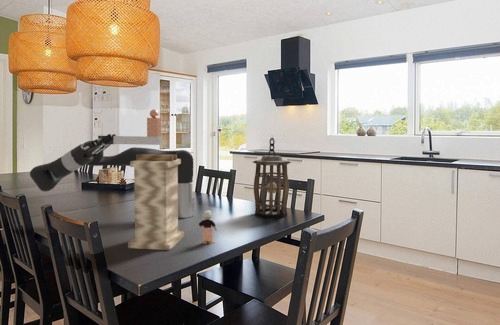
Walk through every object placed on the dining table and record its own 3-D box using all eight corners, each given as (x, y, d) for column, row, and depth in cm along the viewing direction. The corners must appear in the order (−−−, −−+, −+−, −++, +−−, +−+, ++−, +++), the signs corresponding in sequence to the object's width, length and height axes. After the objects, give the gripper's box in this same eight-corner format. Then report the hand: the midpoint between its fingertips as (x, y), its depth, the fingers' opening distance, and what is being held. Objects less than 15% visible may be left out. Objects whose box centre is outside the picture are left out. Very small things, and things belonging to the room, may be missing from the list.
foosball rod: (97, 144, 143) (97, 108, 142) (102, 143, 147) (102, 109, 146) (158, 145, 140) (158, 109, 139) (162, 144, 144) (162, 109, 143)
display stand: (127, 247, 139) (126, 156, 136) (146, 234, 156) (145, 152, 153) (169, 250, 137) (169, 156, 134) (184, 236, 155) (183, 153, 152)
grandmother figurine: (217, 241, 148) (217, 209, 147) (216, 244, 145) (217, 211, 143) (197, 241, 148) (197, 209, 147) (196, 244, 144) (196, 211, 143)
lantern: (297, 215, 195) (298, 138, 191) (271, 221, 182) (272, 138, 178) (270, 209, 209) (271, 137, 205) (244, 214, 196) (245, 137, 192)
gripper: (91, 165, 153) (126, 144, 151) (71, 167, 139) (109, 145, 137) (82, 148, 153) (117, 128, 151) (61, 150, 139) (99, 127, 137)
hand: (113, 136), depth 144 cm, fingers closed on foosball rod, 3 cm apart
